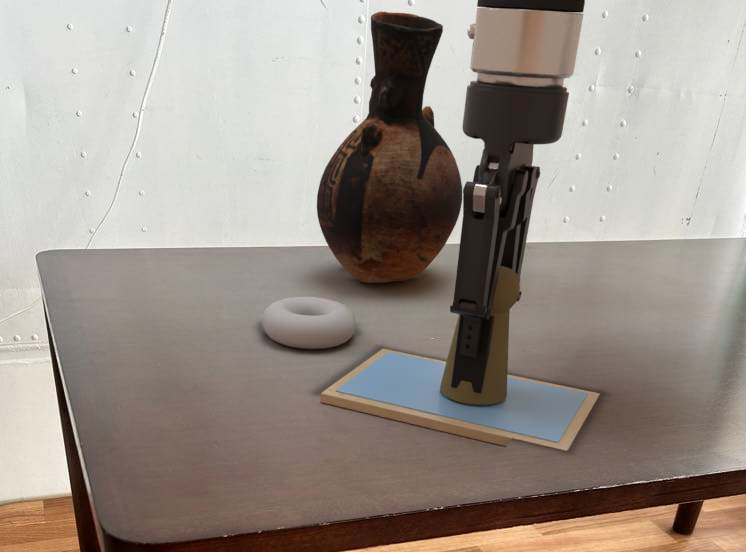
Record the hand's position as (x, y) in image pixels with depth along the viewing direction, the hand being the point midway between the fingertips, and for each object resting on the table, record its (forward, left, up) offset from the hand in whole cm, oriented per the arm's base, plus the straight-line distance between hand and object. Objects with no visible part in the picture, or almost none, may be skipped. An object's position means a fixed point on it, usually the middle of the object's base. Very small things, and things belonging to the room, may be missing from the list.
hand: (475, 379), depth 73 cm
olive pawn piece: (0, 0, -1) cm, 1 cm away
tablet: (+1, 0, -2) cm, 3 cm away
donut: (+21, -8, -3) cm, 23 cm away
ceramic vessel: (+24, -35, -3) cm, 42 cm away
